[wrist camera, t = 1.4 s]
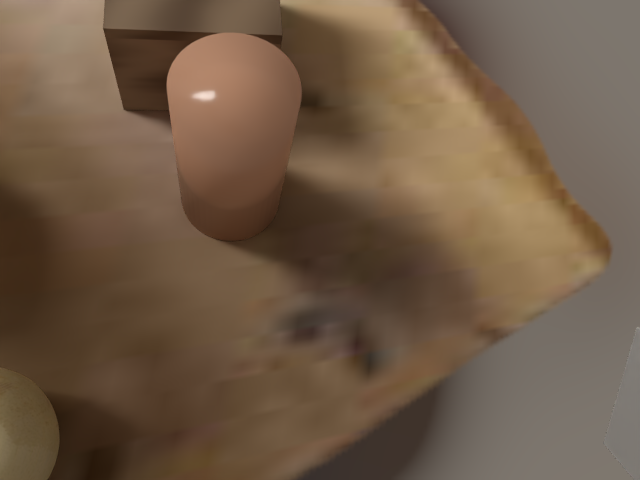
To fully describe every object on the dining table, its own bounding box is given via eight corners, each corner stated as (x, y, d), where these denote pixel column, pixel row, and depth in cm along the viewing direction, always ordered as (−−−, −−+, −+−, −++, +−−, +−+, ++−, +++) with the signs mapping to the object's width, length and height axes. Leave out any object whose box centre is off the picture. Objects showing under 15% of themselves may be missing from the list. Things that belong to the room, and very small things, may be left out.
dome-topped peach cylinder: (181, 242, 38) (165, 144, 27) (181, 152, 41) (167, 29, 30) (282, 240, 39) (306, 145, 28) (276, 153, 42) (297, 35, 31)
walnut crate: (123, 109, 41) (103, 28, 34) (128, -7, 45) (111, -103, 37) (271, 111, 43) (282, 35, 36) (264, 0, 46) (273, -91, 39)
